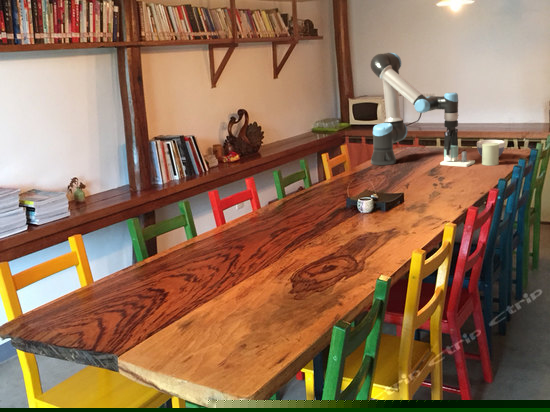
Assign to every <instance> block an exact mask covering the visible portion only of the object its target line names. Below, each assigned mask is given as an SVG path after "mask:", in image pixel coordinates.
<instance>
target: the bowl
mask: <svg viewBox="0 0 550 412" xmlns="http://www.w3.org/2000/svg"><path fill="white" fill-rule="evenodd" d="M484 143H498V144H499V157H500V156H501V155H502V154H503V152H504V150H505V145H506V141H505V140H501V139H482V140H477V142H476V148H477V149H476V150H477V152H478V154H479V155H480V156H481V157H482V144H484Z"/></svg>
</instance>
